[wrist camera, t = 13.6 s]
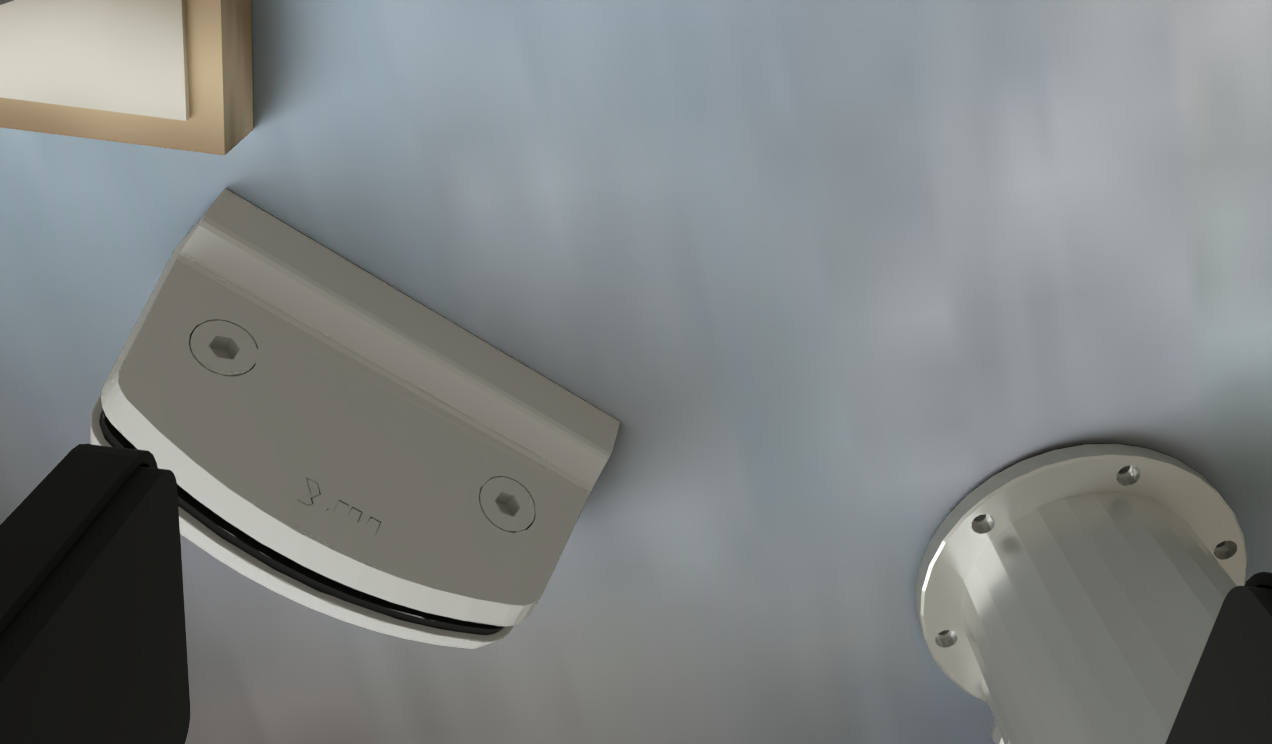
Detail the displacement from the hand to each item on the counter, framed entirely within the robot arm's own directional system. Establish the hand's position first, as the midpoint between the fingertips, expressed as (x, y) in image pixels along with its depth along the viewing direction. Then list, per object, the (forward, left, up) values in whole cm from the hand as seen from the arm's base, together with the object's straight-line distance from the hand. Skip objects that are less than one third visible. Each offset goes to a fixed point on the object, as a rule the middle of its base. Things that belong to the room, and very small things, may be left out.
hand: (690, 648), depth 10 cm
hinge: (-14, +8, -30) cm, 33 cm away
